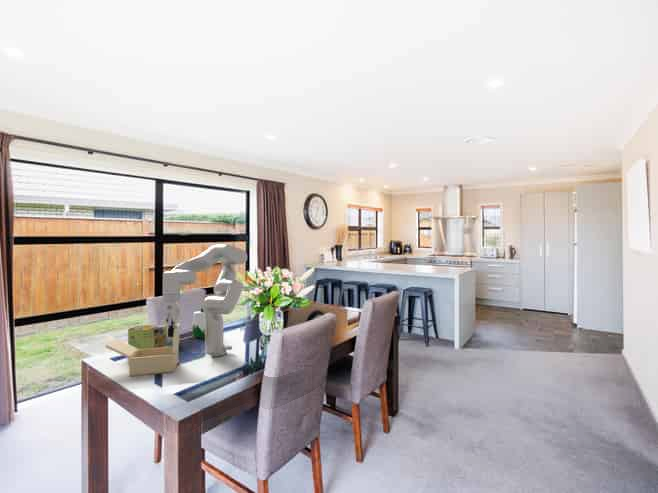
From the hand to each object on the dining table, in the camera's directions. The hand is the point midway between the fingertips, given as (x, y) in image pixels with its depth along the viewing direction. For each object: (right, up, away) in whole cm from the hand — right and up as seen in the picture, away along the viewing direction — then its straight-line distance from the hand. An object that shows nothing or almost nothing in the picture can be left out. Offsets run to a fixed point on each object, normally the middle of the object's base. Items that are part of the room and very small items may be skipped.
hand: (171, 336), depth 164 cm
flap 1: (-15, -7, -4) cm, 17 cm away
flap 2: (+1, -7, 0) cm, 7 cm away
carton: (-7, -15, -2) cm, 16 cm away
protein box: (-20, -15, +17) cm, 31 cm away
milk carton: (-8, -18, +58) cm, 61 cm away
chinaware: (-20, -15, +36) cm, 44 cm away
